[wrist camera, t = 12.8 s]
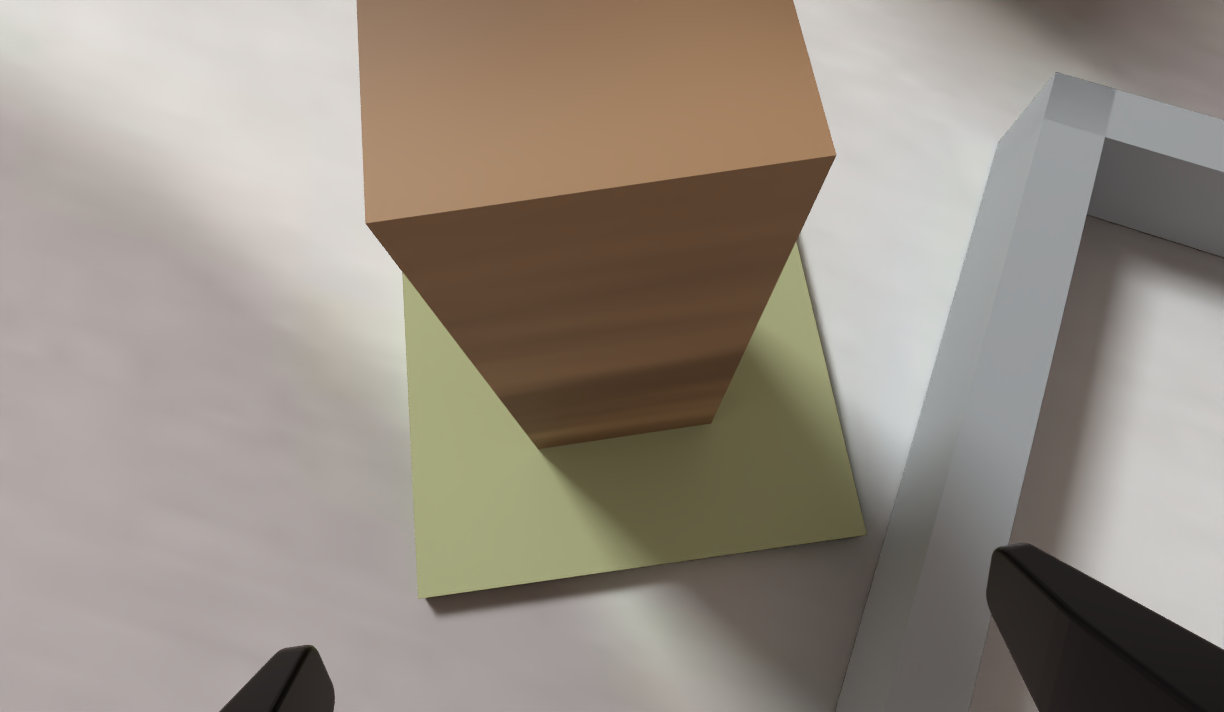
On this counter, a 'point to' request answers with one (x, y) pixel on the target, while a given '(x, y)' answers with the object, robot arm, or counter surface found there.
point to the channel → (1014, 368)
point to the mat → (624, 467)
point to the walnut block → (592, 191)
